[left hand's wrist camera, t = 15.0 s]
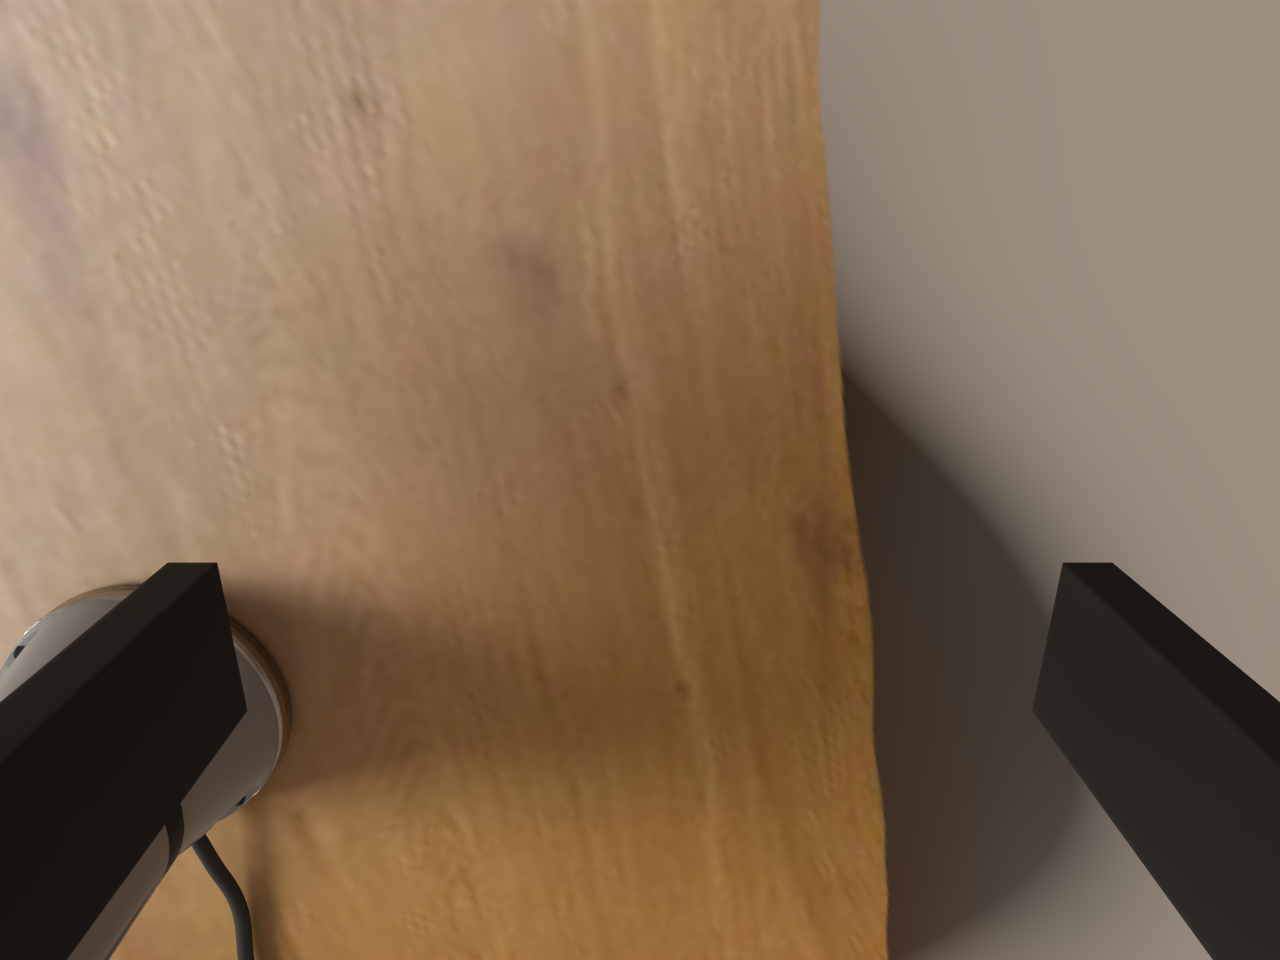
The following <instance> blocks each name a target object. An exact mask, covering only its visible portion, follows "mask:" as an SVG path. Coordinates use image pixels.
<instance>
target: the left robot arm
mask: <svg viewBox="0 0 1280 960" xmlns="http://www.w3.org/2000/svg"><path fill="white" fill-rule="evenodd" d="M1032 711H1033V712H1034V714H1035V715H1036V716H1037V718H1038V719H1039V721H1040V722H1041V723H1042V725H1043V726H1044V727H1045V729H1046V730H1047V732H1048V733H1049V734H1050V736H1051V737H1052V739H1053V740H1054V741H1055V743H1056V744H1057V745H1058V747H1059V748H1060V750H1061V751H1062V752H1063V754H1064V755H1065V756H1066V758H1067V759H1068V761H1069V762H1070V763H1071V765H1072V766H1073V767H1074V769H1075V770H1076V772H1077V773H1078V774H1079V776H1080V777H1081V779H1082V780H1083V781H1084V783H1085V784H1086V785H1087V787H1088V788H1089V790H1090V791H1091V792H1092V794H1093V795H1094V796H1095V798H1096V799H1097V801H1098V802H1099V803H1100V805H1101V806H1102V807H1103V809H1104V810H1105V811H1106V813H1107V814H1108V816H1109V817H1110V818H1111V820H1112V821H1113V823H1114V824H1115V825H1116V827H1117V828H1118V830H1119V831H1120V832H1121V834H1122V835H1123V836H1124V838H1125V839H1126V841H1127V842H1128V843H1129V845H1130V846H1131V847H1132V849H1133V850H1134V852H1135V853H1136V854H1137V856H1138V857H1139V859H1140V860H1141V861H1142V863H1143V864H1144V865H1145V867H1146V868H1147V870H1148V871H1149V872H1150V874H1151V875H1152V876H1153V878H1154V879H1155V881H1156V882H1157V883H1158V885H1159V886H1160V887H1161V889H1162V890H1163V892H1164V893H1165V894H1166V896H1167V897H1168V898H1169V900H1170V901H1171V903H1172V904H1173V905H1174V907H1175V908H1176V910H1177V911H1178V912H1179V914H1180V915H1181V916H1182V918H1183V919H1184V921H1185V922H1186V923H1187V925H1188V926H1189V927H1190V929H1191V930H1192V931H1193V933H1194V934H1195V936H1196V937H1197V938H1198V940H1199V941H1200V943H1201V944H1202V945H1203V947H1204V948H1205V950H1206V951H1207V952H1208V954H1209V955H1210V956H1211V958H1212V959H1213V960H1280V702H1279V701H1278V700H1277V699H1275V698H1274V697H1273V696H1272V695H1271V694H1269V693H1268V692H1267V691H1266V690H1265V689H1263V688H1262V687H1261V686H1260V685H1259V684H1257V683H1256V682H1255V681H1254V680H1253V679H1251V678H1250V677H1249V676H1248V675H1247V674H1245V673H1244V672H1243V671H1242V670H1241V669H1239V668H1238V667H1237V666H1236V665H1235V664H1233V663H1232V662H1231V661H1230V660H1228V659H1227V658H1226V657H1225V656H1224V655H1223V654H1221V653H1220V652H1219V651H1218V650H1217V649H1215V648H1214V647H1213V646H1212V645H1211V644H1209V643H1208V642H1207V641H1206V640H1205V639H1203V638H1202V637H1201V636H1200V635H1199V634H1197V633H1196V632H1195V631H1194V630H1192V629H1191V628H1190V627H1189V626H1188V625H1186V624H1185V623H1184V622H1183V621H1182V620H1180V619H1179V618H1178V617H1177V616H1176V615H1174V614H1173V613H1172V612H1171V611H1170V610H1168V609H1167V608H1166V607H1165V606H1164V605H1162V604H1161V603H1160V602H1159V601H1158V600H1156V599H1155V598H1154V597H1153V596H1152V595H1150V594H1149V593H1148V592H1147V591H1146V590H1144V589H1143V588H1142V587H1141V586H1139V585H1138V584H1137V583H1136V582H1135V581H1134V580H1132V579H1131V578H1130V577H1129V576H1128V575H1126V574H1125V573H1124V572H1123V571H1122V570H1120V569H1119V568H1118V567H1117V566H1116V565H1114V564H1113V563H1063V565H1062V570H1061V574H1060V579H1059V584H1058V589H1057V594H1056V599H1055V604H1054V608H1053V613H1052V618H1051V623H1050V628H1049V633H1048V638H1047V642H1046V647H1045V652H1044V657H1043V662H1042V667H1041V671H1040V676H1039V681H1038V686H1037V691H1036V696H1035V700H1034V705H1033V710H1032ZM290 729H291V708H290V701H289V697H288V693H287V689H286V687H285V684H284V681H283V679H282V677H281V675H280V672H279V670H278V669H277V667H276V665H275V664H274V662H273V660H272V659H271V657H270V656H269V655H268V653H267V652H266V651H265V649H264V648H263V647H262V646H261V645H260V644H259V642H258V641H257V640H256V639H255V638H254V637H253V636H252V635H251V634H250V633H249V632H248V631H246V630H245V629H244V628H243V627H242V626H240V625H239V624H238V623H237V622H235V621H234V620H233V619H231V618H230V617H228V613H227V608H226V604H225V599H224V594H223V589H222V584H221V579H220V574H219V570H218V565H217V563H167V564H166V565H164V566H163V567H162V568H161V569H160V570H158V571H157V572H156V573H155V574H154V575H152V576H151V577H150V578H149V579H148V580H146V581H145V582H144V583H143V584H142V585H140V586H114V587H106V588H101V589H96V590H92V591H89V592H86V593H83V594H80V595H78V596H76V597H73V598H71V599H69V600H67V601H66V602H64V603H63V604H61V605H59V606H58V607H56V608H55V609H54V610H52V611H51V612H50V613H48V614H47V615H46V616H44V617H43V618H42V619H40V620H39V621H38V622H37V623H35V624H34V625H33V626H32V627H30V628H29V629H28V630H27V632H26V633H25V634H24V635H23V636H22V637H21V638H20V640H19V641H18V642H17V644H16V645H15V646H14V648H13V649H12V650H11V652H10V653H9V655H8V657H7V659H6V661H5V663H4V664H3V666H2V669H1V671H0V960H109V959H110V958H111V956H112V955H113V953H114V952H115V950H116V949H117V947H118V946H119V944H120V943H121V941H122V939H123V938H124V936H125V935H126V933H127V932H128V930H129V929H130V927H131V926H132V924H133V923H134V921H135V920H136V918H137V917H138V915H139V914H140V912H141V910H142V909H143V907H144V906H145V904H146V903H147V901H148V900H149V898H150V897H151V895H152V894H153V892H154V891H155V889H156V888H157V886H158V885H159V883H160V882H161V880H162V879H163V877H164V876H165V874H166V873H167V871H168V870H169V868H170V867H171V865H172V864H173V862H174V861H175V859H176V858H177V856H178V855H180V854H181V853H182V852H183V851H185V850H186V849H187V848H189V847H190V846H192V847H193V849H194V851H195V852H196V854H197V856H198V857H199V859H200V860H201V862H202V864H203V865H204V867H205V868H206V870H207V872H208V873H209V874H210V876H211V877H212V879H213V880H214V881H215V883H216V884H217V885H218V887H219V888H220V889H221V891H222V892H223V894H224V895H225V897H226V899H227V900H228V903H229V905H230V908H231V910H232V914H233V917H234V922H235V929H236V940H237V954H238V960H254V954H253V942H252V927H251V919H250V914H249V910H248V906H247V903H246V900H245V898H244V895H243V893H242V891H241V889H240V887H239V885H238V884H237V882H236V881H235V879H234V878H233V876H232V875H231V873H230V872H229V871H228V869H227V868H226V866H225V865H224V864H223V862H222V861H221V859H220V857H219V856H218V854H217V853H216V851H215V849H214V847H213V846H212V844H211V842H210V841H209V839H208V837H207V836H206V833H207V832H208V831H209V830H210V829H211V828H212V827H213V825H214V824H215V823H216V822H218V821H221V820H223V819H224V818H226V817H228V816H229V815H231V814H233V813H234V812H236V811H237V810H238V809H239V808H241V807H242V806H243V805H244V804H246V803H247V802H248V801H249V800H250V799H251V798H252V797H253V796H254V795H255V794H256V793H257V792H258V791H259V790H260V789H261V788H262V787H263V785H264V784H265V783H266V781H267V780H268V778H269V777H270V775H271V774H272V772H273V770H274V769H275V767H276V765H277V764H278V762H279V760H280V759H281V757H282V755H283V753H284V751H285V748H286V746H287V743H288V739H289V735H290Z"/></svg>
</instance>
